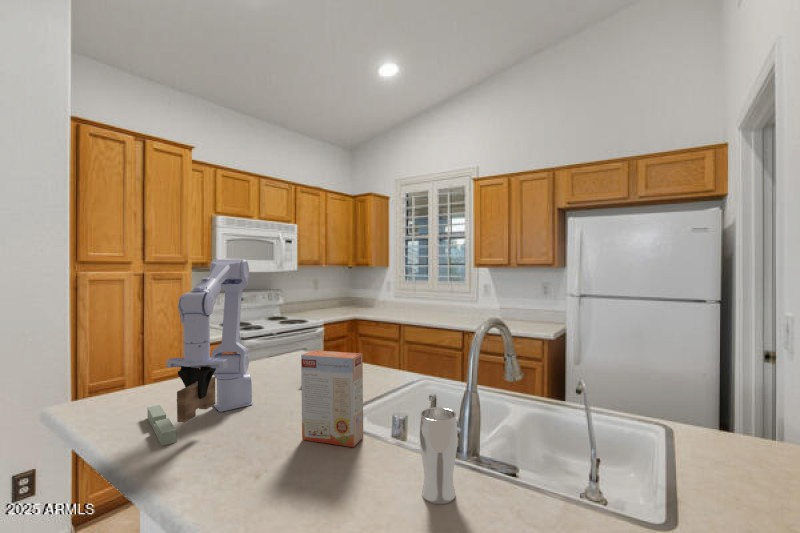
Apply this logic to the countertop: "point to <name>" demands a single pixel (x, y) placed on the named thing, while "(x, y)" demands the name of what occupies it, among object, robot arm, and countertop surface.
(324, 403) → the cracker box
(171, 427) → the slotted rail
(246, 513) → the countertop surface
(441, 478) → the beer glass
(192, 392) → the walnut plate
